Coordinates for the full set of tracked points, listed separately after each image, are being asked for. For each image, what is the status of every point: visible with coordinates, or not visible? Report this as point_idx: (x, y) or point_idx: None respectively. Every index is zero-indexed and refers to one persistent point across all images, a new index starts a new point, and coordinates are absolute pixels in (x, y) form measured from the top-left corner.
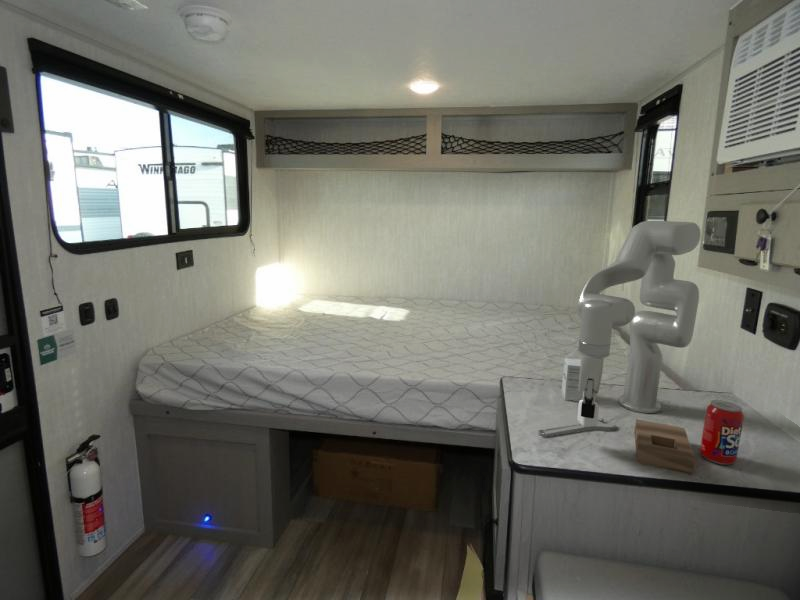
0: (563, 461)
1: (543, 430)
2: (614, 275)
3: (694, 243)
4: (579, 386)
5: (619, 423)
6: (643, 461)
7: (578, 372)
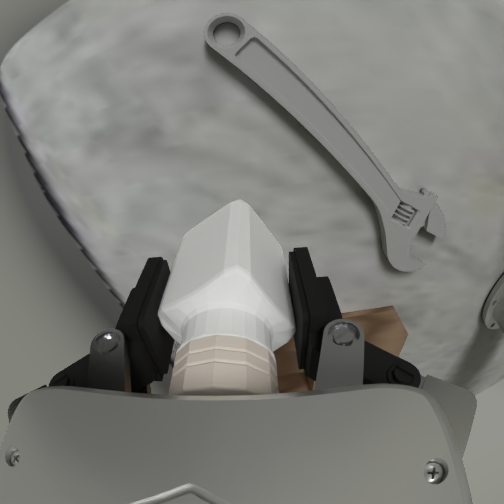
0: (74, 161)
1: (244, 31)
2: None
3: None
4: (5, 434)
5: (435, 270)
6: None
7: None
